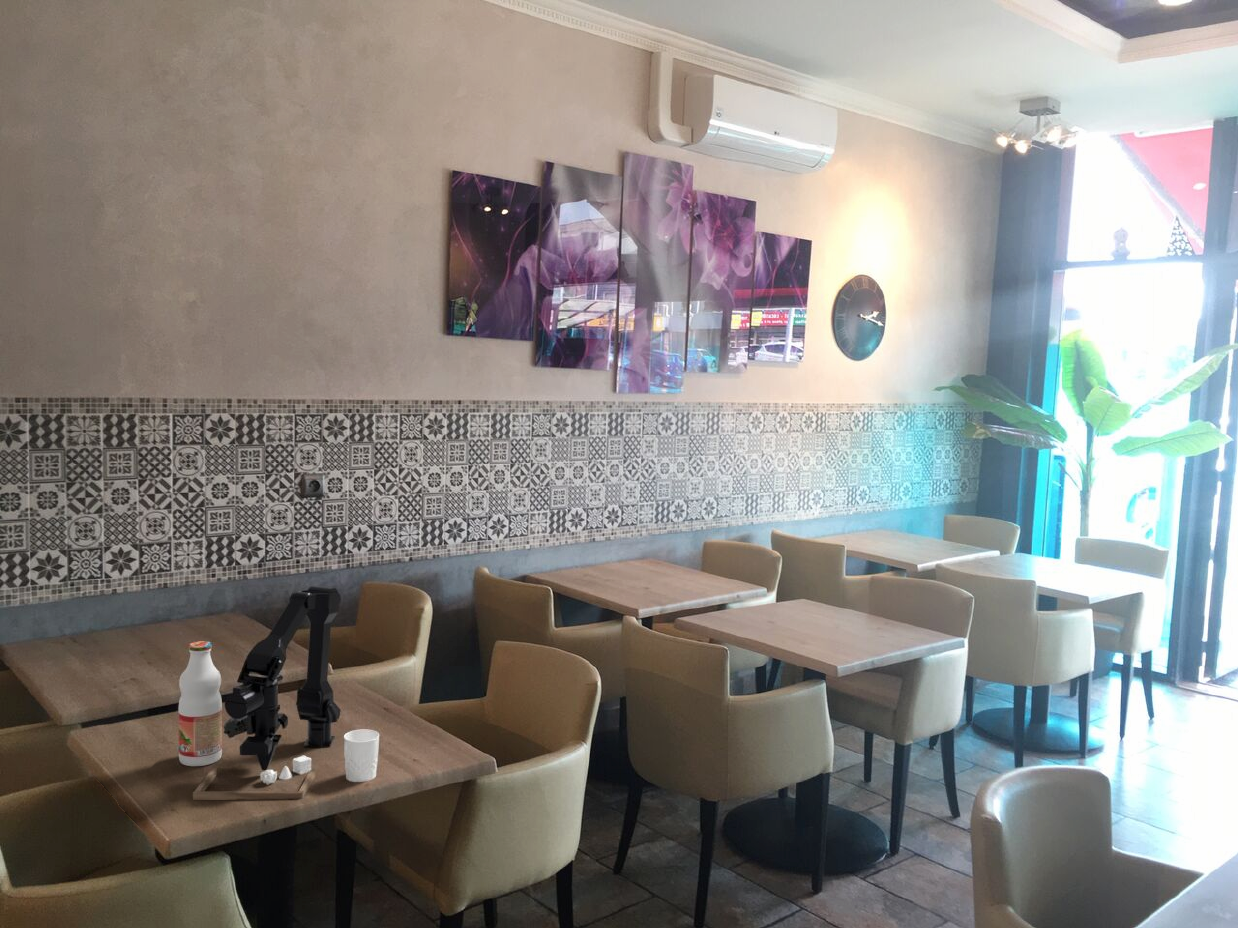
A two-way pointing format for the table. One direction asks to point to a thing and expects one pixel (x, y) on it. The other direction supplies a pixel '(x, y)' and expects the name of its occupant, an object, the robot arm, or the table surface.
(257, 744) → the robot arm
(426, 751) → the table surface
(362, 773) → the white cup
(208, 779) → the rail corral
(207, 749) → the fruit juice
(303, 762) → the game pieces
